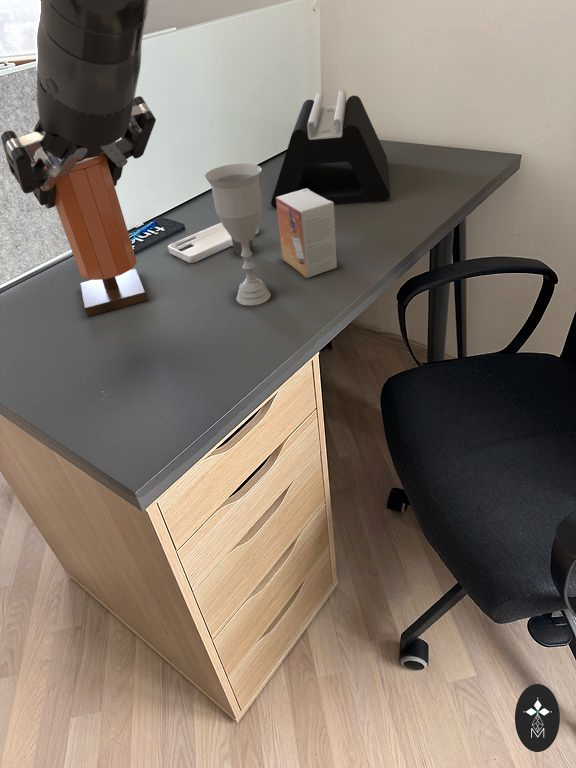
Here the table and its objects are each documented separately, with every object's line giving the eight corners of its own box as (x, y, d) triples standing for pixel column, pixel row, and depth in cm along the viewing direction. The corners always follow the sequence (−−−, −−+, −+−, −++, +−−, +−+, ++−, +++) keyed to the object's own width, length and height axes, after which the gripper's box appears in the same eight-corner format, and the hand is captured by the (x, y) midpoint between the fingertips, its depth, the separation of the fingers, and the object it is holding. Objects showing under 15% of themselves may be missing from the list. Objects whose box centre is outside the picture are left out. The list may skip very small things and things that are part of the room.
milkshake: (225, 260, 94) (213, 201, 88) (235, 246, 98) (224, 188, 92) (251, 260, 93) (241, 200, 86) (260, 246, 97) (251, 188, 90)
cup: (82, 285, 61) (40, 171, 53) (78, 262, 65) (39, 155, 58) (140, 270, 62) (106, 157, 55) (132, 249, 67) (100, 143, 59)
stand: (87, 317, 84) (60, 244, 77) (82, 291, 91) (57, 222, 83) (147, 300, 86) (126, 228, 79) (138, 276, 93) (118, 208, 85)
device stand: (386, 162, 124) (386, 86, 115) (389, 200, 106) (389, 114, 97) (285, 169, 127) (277, 96, 118) (271, 208, 110) (261, 125, 101)
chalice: (221, 306, 82) (196, 181, 71) (238, 284, 87) (217, 163, 76) (269, 310, 80) (250, 181, 69) (284, 286, 85) (268, 163, 73)
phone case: (191, 264, 94) (260, 232, 101) (190, 256, 93) (259, 225, 100) (168, 252, 99) (235, 223, 106) (166, 245, 98) (234, 216, 105)
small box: (282, 260, 91) (274, 196, 85) (312, 250, 93) (306, 186, 87) (306, 279, 86) (299, 211, 79) (338, 268, 87) (334, 201, 81)
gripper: (142, 16, 48) (119, 141, 63) (-29, 48, 42) (-10, 180, 56) (189, 89, 48) (155, 198, 63) (24, 134, 41) (30, 244, 56)
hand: (77, 189), depth 60 cm, fingers closed on cup, 6 cm apart
